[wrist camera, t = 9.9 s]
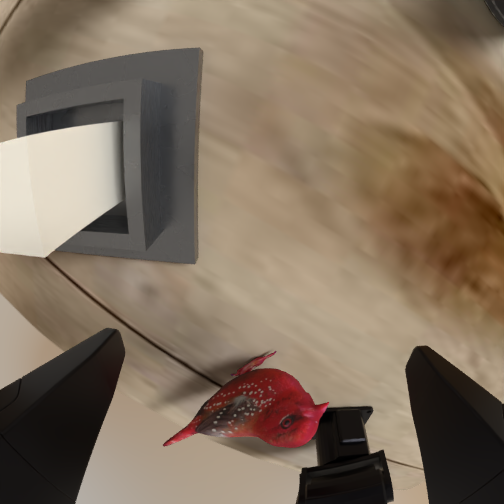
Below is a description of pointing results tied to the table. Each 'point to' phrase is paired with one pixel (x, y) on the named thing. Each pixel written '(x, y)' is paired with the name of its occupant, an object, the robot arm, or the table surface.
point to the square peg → (58, 185)
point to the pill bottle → (497, 9)
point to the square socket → (133, 146)
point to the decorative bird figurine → (258, 409)
